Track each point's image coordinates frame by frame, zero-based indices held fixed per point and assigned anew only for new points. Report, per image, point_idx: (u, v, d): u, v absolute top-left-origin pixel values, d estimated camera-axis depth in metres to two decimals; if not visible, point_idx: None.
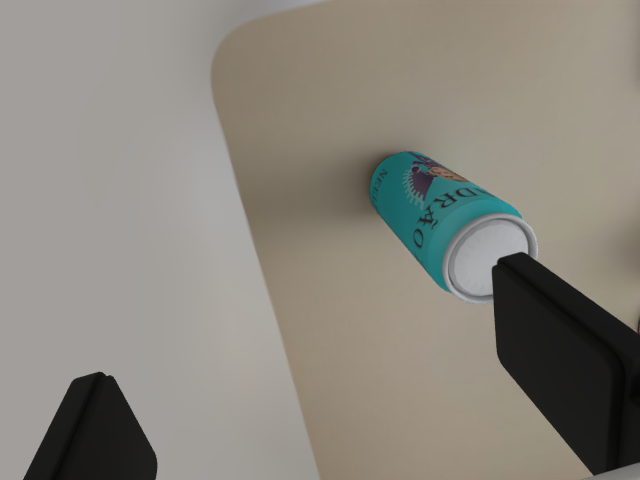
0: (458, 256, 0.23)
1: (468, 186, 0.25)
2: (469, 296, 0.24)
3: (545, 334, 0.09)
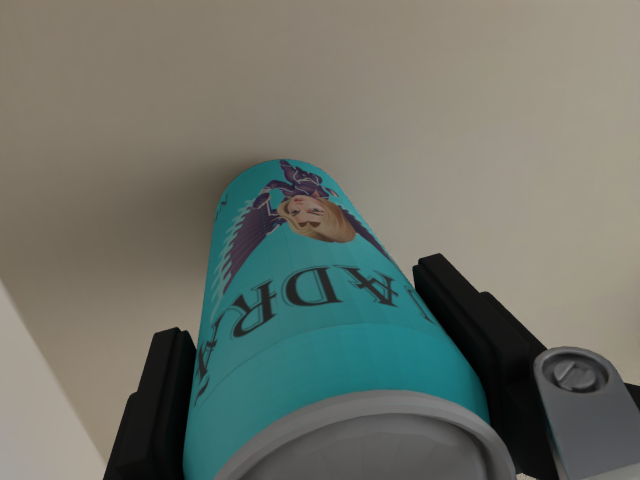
0: None
1: (334, 260, 0.09)
2: None
3: (448, 329, 0.10)
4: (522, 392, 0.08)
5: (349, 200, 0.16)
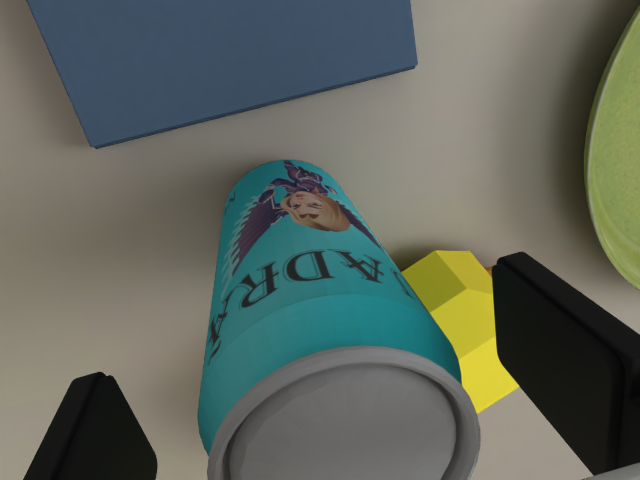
0: (248, 464, 0.08)
1: (329, 245, 0.11)
2: None
3: (545, 334, 0.09)
4: None
5: (347, 197, 0.18)
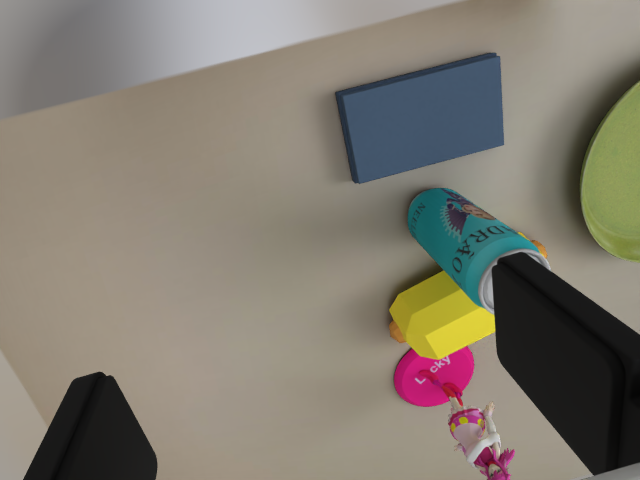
0: (491, 281, 0.30)
1: (496, 224, 0.33)
2: None
3: (545, 334, 0.09)
4: None
5: None
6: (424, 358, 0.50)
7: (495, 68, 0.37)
